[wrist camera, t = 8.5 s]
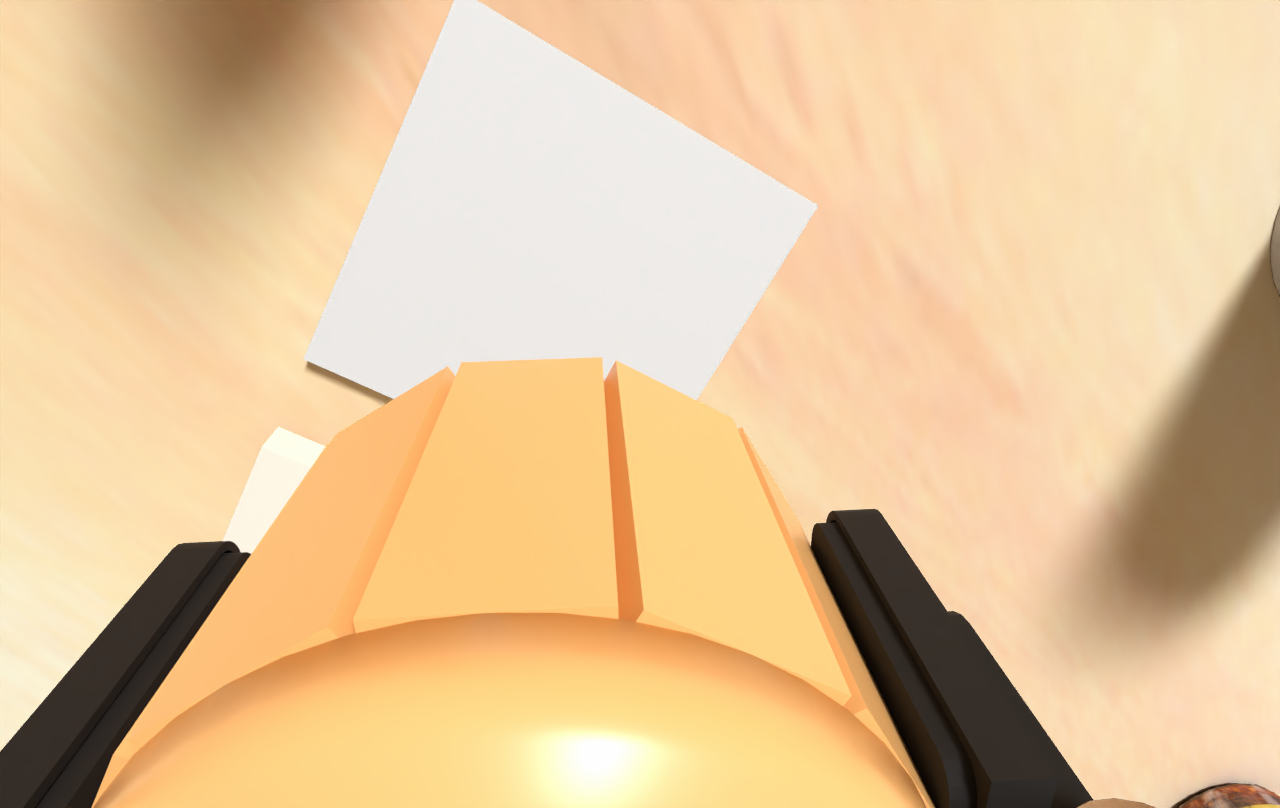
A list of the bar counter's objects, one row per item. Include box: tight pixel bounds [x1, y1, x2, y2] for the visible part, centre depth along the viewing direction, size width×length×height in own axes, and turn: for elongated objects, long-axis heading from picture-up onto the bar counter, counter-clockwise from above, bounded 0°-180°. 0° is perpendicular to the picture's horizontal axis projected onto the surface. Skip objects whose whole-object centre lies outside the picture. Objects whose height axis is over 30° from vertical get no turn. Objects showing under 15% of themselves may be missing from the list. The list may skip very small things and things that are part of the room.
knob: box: [92, 357, 935, 808], centre depth 7 cm, size 7×7×6 cm
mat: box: [304, 0, 818, 400], centre depth 25 cm, size 12×12×1 cm
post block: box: [223, 427, 326, 554], centre depth 26 cm, size 12×12×8 cm
